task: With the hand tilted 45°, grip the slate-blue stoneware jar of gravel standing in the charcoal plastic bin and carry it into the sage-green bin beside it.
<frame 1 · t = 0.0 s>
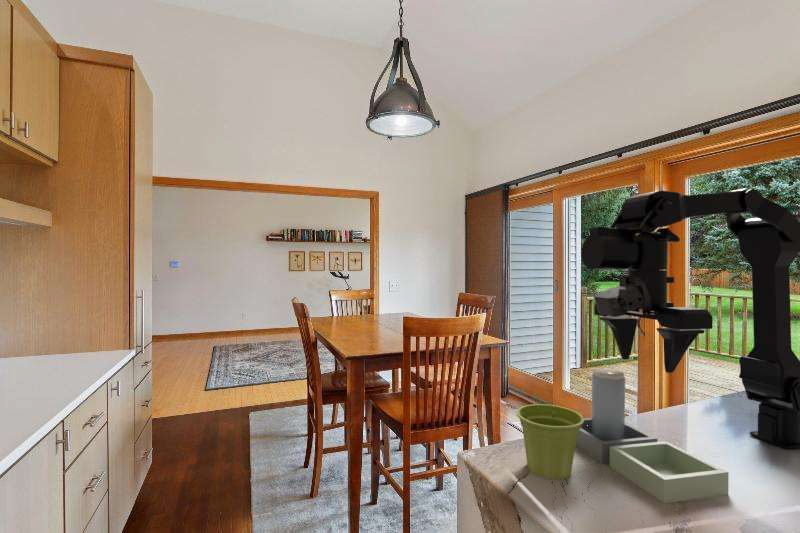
hand: (645, 365, 69), 15 cm above the table, tool pointing down, fingers open, 9 cm apart
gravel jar: (607, 446, 71), resting on charcoal bin
plant pot: (549, 473, 63), on the table
charcoal bin: (607, 449, 71), on the table
sage bin: (665, 483, 60), on the table
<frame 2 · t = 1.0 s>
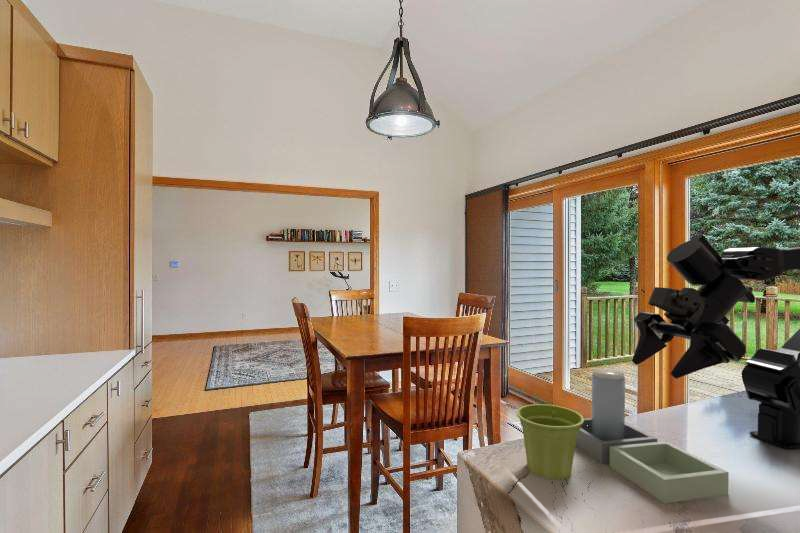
hand: (652, 369, 72), 13 cm above the table, tool tilted 45°, fingers open, 9 cm apart
nothing on the table moved.
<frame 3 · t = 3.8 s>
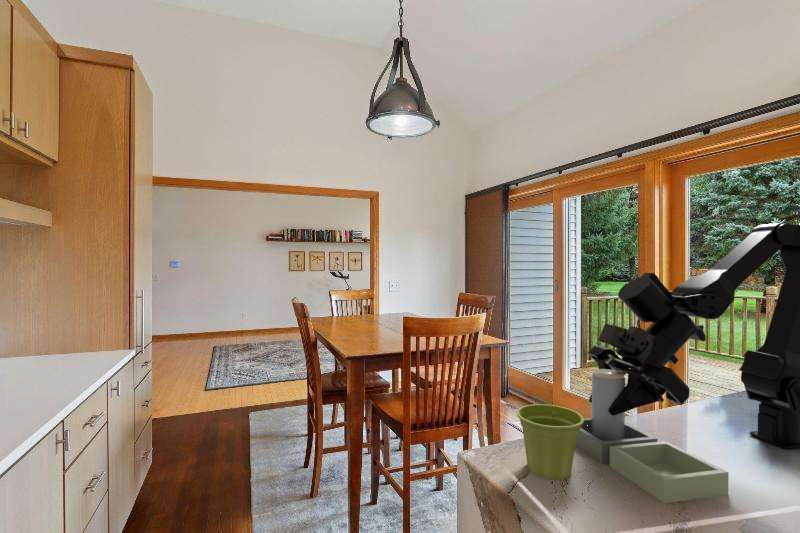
hand: (600, 407, 71), 7 cm above the table, tool tilted 45°, fingers closed on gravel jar, 5 cm apart
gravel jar: (607, 446, 71), resting on charcoal bin, touching gripper
everything else where it was.
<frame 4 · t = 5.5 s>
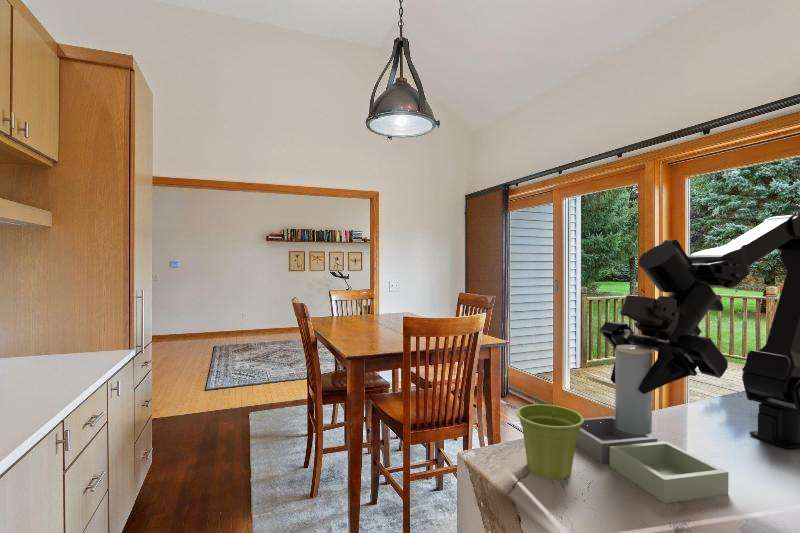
hand: (626, 386, 65), 12 cm above the table, tool tilted 45°, fingers closed on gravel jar, 5 cm apart
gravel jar: (633, 428, 65), point 6 cm above the table, touching gripper
everything else where it was.
when the fingers open (8 cm above the table, at t = 7.3 s): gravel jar drops 1 cm, resting on sage bin.
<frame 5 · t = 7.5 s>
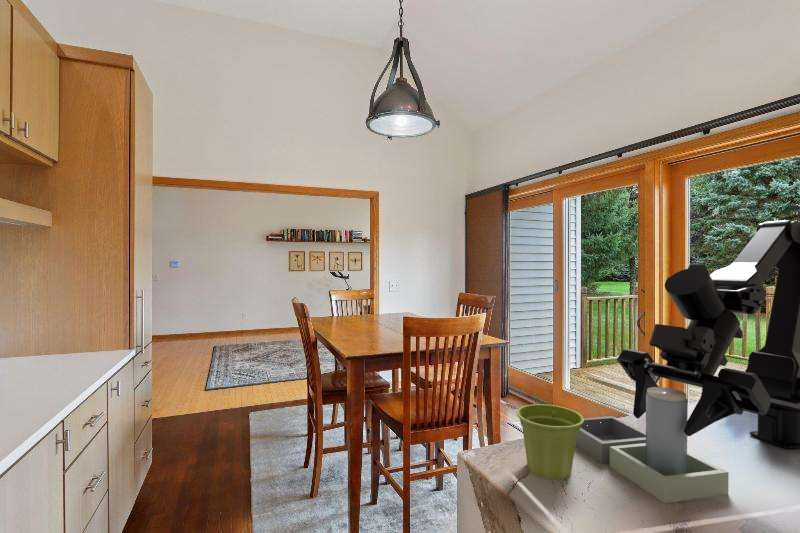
hand: (659, 424, 59), 9 cm above the table, tool tilted 45°, fingers open, 7 cm apart
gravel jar: (665, 478, 60), point 1 cm above the table, touching sage bin
everything else where it was.
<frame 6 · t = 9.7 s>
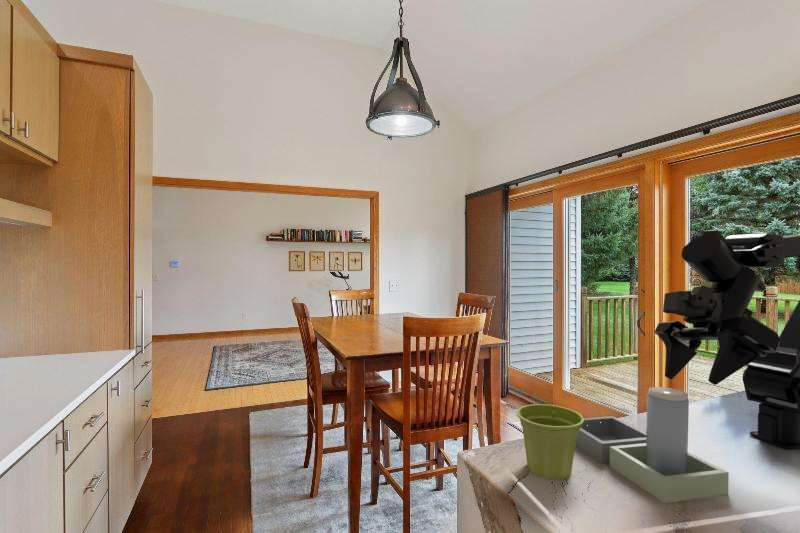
hand: (688, 380, 67), 13 cm above the table, tool tilted 35°, fingers open, 9 cm apart
nothing on the table moved.
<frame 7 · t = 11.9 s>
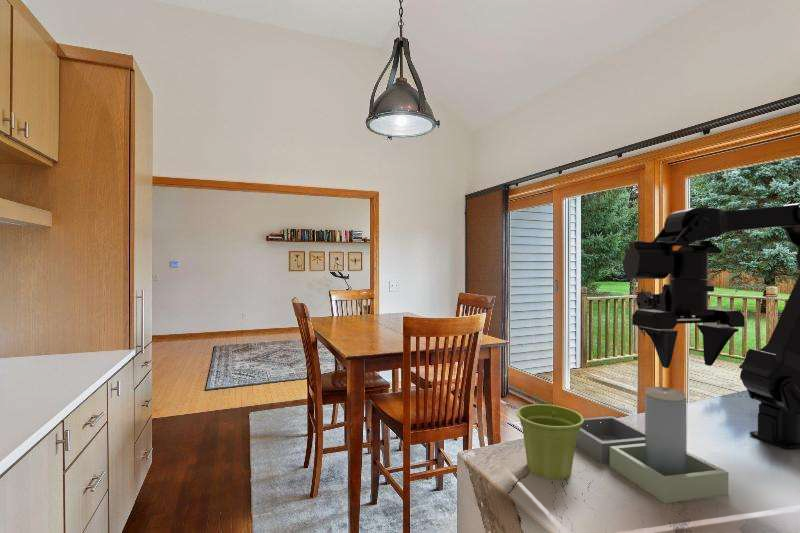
hand: (687, 366, 75), 13 cm above the table, tool pointing down, fingers open, 9 cm apart
nothing on the table moved.
at the end: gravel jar 0.1 cm off-centre on the sage bin, point 0.5 cm above the sage bin's base; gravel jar tilted 1°; the gripper is holding nothing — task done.
